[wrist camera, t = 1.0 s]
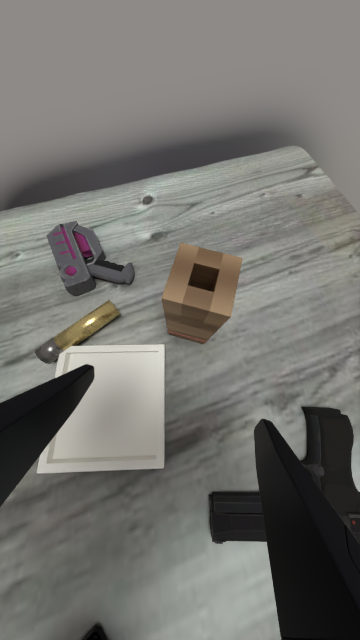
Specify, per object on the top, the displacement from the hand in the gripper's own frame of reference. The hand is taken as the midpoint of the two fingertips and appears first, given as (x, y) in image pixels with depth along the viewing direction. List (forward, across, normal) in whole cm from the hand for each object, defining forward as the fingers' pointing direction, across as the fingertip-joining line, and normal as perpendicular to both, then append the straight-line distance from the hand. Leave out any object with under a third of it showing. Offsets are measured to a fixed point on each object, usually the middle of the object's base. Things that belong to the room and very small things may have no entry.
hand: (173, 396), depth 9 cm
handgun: (+6, -14, +14) cm, 21 cm away
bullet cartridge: (+12, +14, +7) cm, 19 cm away
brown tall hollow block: (+15, 0, +4) cm, 16 cm away
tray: (+7, +7, +12) cm, 16 cm away
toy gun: (+20, +18, 0) cm, 26 cm away
